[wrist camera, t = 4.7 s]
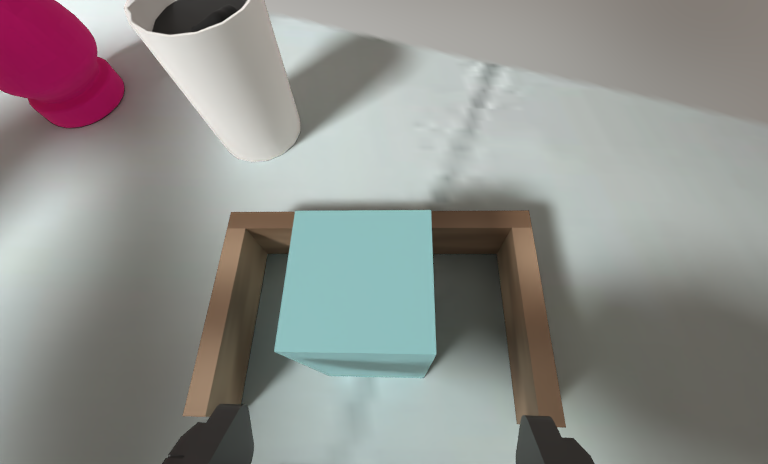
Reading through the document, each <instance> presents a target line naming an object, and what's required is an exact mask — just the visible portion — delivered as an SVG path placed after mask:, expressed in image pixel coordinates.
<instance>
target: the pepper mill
mask: <svg viewBox="0 0 768 464" xmlns="http://www.w3.org/2000/svg"><path fill="white" fill-rule="evenodd" d="M0 90H1V91H3V92H5V93H8V94H11V95H14V96H19V97H24V98H28V101H29V103H30V105H31V106H32V107H33V108H34V109H35V110H36V111H37V112H39V113H40V114H41V115H42V116H43V117H45V118H46V119H47V120H48V121H50V122H51V123H53V124H55V125H57V126H60V127H65V128H74V127H82V126H86V125H89V124H92V123H94V122H96V121H99V120H100V119H102V118H103V117H105V116H106V115H108V114H109V113H110V112H111V111H112V110H114V109H115V108H116V106H117V105H118V104H119V102H120V101H121V99H122V97H123V94H124V83H123V80H122V79H121V77H120V76H119V75H118V74H117V73H116V72H115V71H114V69H113V68H112V67H111V66H110V65H109V64H108V62H107V61H105V60H104V59H102V58H100V57H97V46H96V42H95V39H94V37H93V36H92V34H91V32H90V31H89V30H88V29H87V27H86V26H85V25H84V24H83V23H82V22H81V21H80V20H79V19H78V18H77V17H76V16H75V15H74V14H72V13H71V12H70V11H69V10H67V9H66V8H65V7H63V6H62V5H61V4H60V3H58V2H57V1H55V0H0Z"/></svg>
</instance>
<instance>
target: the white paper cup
mask: <svg viewBox="0 0 768 464" xmlns="http://www.w3.org/2000/svg"><path fill="white" fill-rule="evenodd" d="M124 11H125V13H126V16H127V19H128V22H129V24H130V25H131V26H132V28H133V29H134V30H135V32H136V33H137V34H138V35H139V37H140V38H141V39H142V41H143V42H144V43H145V44H146V46H147V47H148V48H149V50H150V51H151V52H152V54H153V55H154V56H155V57H156V59H157V60H158V61H159V63H160V64H161V65H162V66H163V68H164V69H165V70H166V72H167V73H168V74H169V75H170V77H171V78H172V79H173V81H174V82H175V83H176V84H177V86H178V87H179V88H180V90H181V91H182V92H183V93H184V95H185V96H186V97H187V99H188V100H189V101H190V102H191V104H192V105H193V106H194V108H195V109H196V110H197V111H198V113H199V114H200V115H201V117H202V118H203V119H204V120H205V122H206V123H207V124H208V126H209V127H210V128H211V129H212V131H213V132H214V133H215V135H216V136H217V137H218V138H219V140H220V141H221V142H222V144H223V145H224V146H225V147H226V149H227V150H228V151H229V152H230V153H231V154H232V155H234V156H235V157H236V158H238V159H240V160H245V161H249V162H260V161H269V160H271V159H273V158H275V157H278V156H280V155H282V154H284V153H285V152H286V151H287V150H288V149H289V148H291V147H292V146H293V145H294V144H295V142H296V140H297V138H298V136H299V134H300V118H299V115H298V111H297V108H296V105H295V101H294V98H293V95H292V91H291V88H290V85H289V81H288V78H287V75H286V71H285V68H284V65H283V61H282V58H281V55H280V51H279V48H278V45H277V41H276V38H275V35H274V31H273V28H272V25H271V21H270V18H269V15H268V11H267V8H266V5H265V1H264V0H127V1H126V4H125V6H124Z"/></svg>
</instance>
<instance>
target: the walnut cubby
mask: <svg viewBox="0 0 768 464" xmlns="http://www.w3.org/2000/svg"><path fill="white" fill-rule="evenodd" d="M294 215H295V212H231V215H230V219H229V223H228V227H227V232H226V236H225V240H224V244H223V248H222V253H221V257H220V261H219V265H218V269H217V274H216V278H215V282H214V286H213V290H212V295H211V299H210V303H209V307H208V311H207V316H206V320H205V324H204V328H203V333H202V337H201V341H200V345H199V349H198V354H197V358H196V362H195V366H194V370H193V375H192V379H191V383H190V387H189V391H188V396H187V400H186V404H185V408H184V412H183V416H196V417H210V416H211V414H212V413H213V411H214V410H215V408H216V407H217V406H218V405H219V404H241V401H242V396H243V390H244V384H245V379H246V373H247V367H248V362H249V356H250V350H251V345H252V339H253V334H254V328H255V322H256V317H257V311H258V305H259V300H260V294H261V288H262V283H263V277H264V272H265V266H266V260H267V255H268V254H289V249H290V242H291V235H292V229H293V222H294ZM431 220H432V248H433V254H497V260H498V269H499V277H500V286H501V294H502V302H503V311H504V319H505V328H506V336H507V344H508V353H509V361H510V369H511V378H512V386H513V395H514V403H515V411H516V420H517V424H520V421H521V417H522V416H523V415H533V416H550V417H551V418H552V419H553V421H554V422H555V425H556V427H566V425H565V419H564V413H563V407H562V401H561V396H560V390H559V384H558V378H557V372H556V366H555V360H554V355H553V349H552V343H551V337H550V331H549V325H548V319H547V313H546V308H545V302H544V296H543V290H542V284H541V278H540V272H539V267H538V261H537V255H536V249H535V243H534V237H533V231H532V226H531V220H530V214H529V211H431Z"/></svg>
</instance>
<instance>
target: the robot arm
mask: <svg viewBox="0 0 768 464" xmlns="http://www.w3.org/2000/svg"><path fill="white" fill-rule="evenodd" d="M253 451H254V442H253V436H252V429H251V423H250V416H249V410H248V407H247V405H244V404H219V405H218V406H217V407H216V408H215V410H214V411H213V413H212V414H211V416H210V418H209V419H208V421H207V422H206V423H202V422H198V423H197V424H196V425H194V426H193V427H192V428H191V429H190V430H189V431H187V432H186V433H185V434H184V435H183V436H181V437H180V439H179V440H178V442H177V443H176V445H175V446H174V447H173V449H172V450H171V452H170V453H169V455H168V458H166V459H165V460H164V462H163V463H162V464H251V461H252V457H253ZM516 464H594V462H593V460H592V458H591V456H590V455H589V454H588V453H587V452H586V451H585V450H584V449H583V448H582V447H581V446H580V445H579V443H578V442H577V441H576V440H575V439H574V438H562V437H561V435H560V433H559V431H558V429H557V427H556V425H555V422H554V421H553V419H552V418H551V417H550V416H533V415H523V416H522V417H521V421H520V428H519V436H518V443H517V450H516Z"/></svg>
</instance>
